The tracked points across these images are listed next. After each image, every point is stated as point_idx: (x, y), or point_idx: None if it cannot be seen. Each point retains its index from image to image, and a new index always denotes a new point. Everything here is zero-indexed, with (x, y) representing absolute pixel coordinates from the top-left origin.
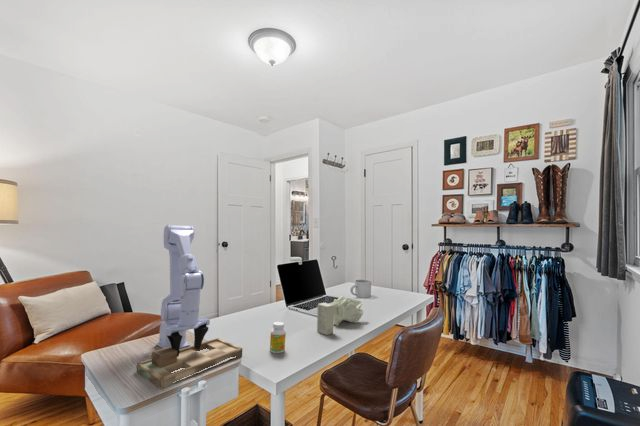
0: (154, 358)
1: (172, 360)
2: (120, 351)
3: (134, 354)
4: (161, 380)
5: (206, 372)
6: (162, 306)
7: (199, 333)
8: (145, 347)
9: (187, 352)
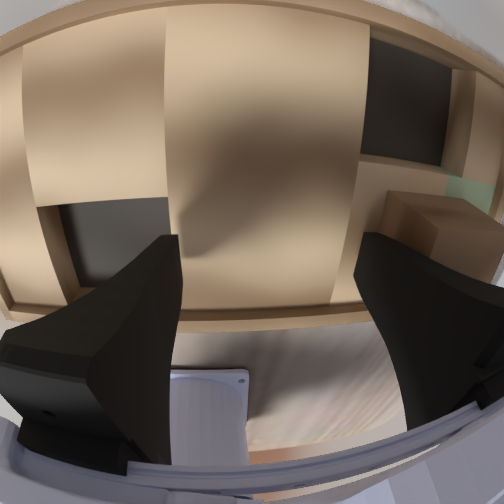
0: None
1: (425, 202)
2: (340, 421)
3: (338, 398)
4: None
5: None
6: None
7: (142, 360)
8: (279, 421)
9: (233, 280)
